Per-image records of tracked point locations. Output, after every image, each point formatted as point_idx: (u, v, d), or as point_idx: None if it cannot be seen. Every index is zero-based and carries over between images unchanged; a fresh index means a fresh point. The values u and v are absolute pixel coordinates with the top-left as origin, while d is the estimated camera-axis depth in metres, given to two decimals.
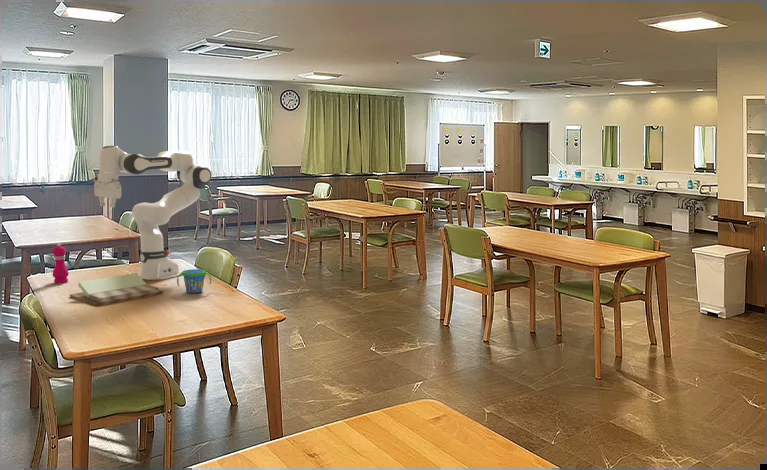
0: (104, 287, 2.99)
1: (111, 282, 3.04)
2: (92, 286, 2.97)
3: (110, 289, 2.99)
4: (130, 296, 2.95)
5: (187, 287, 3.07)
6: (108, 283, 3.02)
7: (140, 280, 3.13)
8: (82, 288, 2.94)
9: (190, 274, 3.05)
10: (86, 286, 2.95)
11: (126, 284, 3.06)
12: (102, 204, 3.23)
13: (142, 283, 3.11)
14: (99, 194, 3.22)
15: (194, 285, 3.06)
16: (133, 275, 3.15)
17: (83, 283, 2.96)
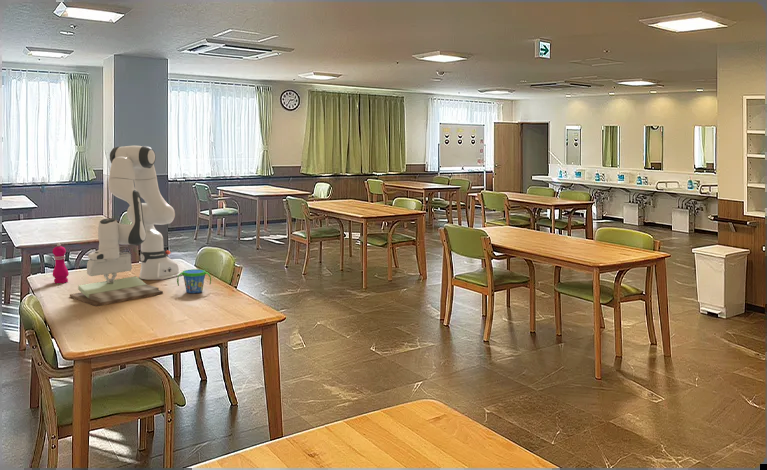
0: (103, 288, 2.99)
1: (110, 284, 3.04)
2: (92, 287, 2.97)
3: (110, 290, 2.99)
4: (130, 296, 2.95)
5: (187, 287, 3.07)
6: (107, 285, 3.03)
7: (140, 281, 3.13)
8: (82, 290, 2.95)
9: (190, 274, 3.05)
10: (86, 288, 2.95)
11: (126, 285, 3.07)
12: None
13: (142, 283, 3.11)
14: (101, 272, 3.00)
15: (194, 285, 3.06)
16: (133, 278, 3.15)
17: (83, 286, 2.97)
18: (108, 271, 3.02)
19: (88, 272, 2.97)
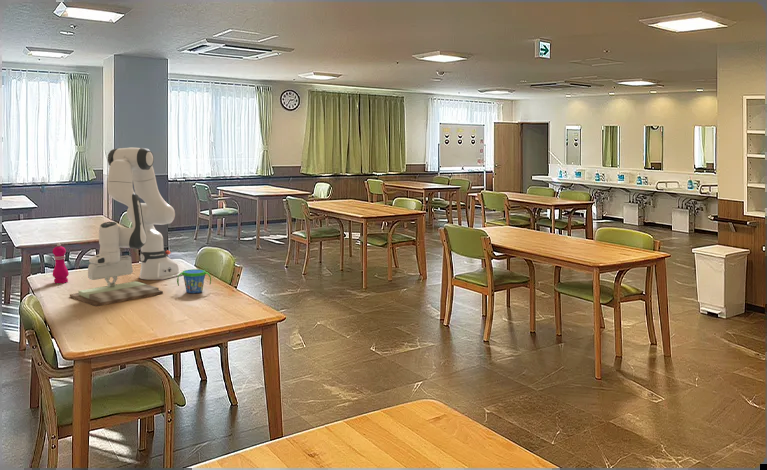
0: (103, 290, 2.99)
1: (110, 287, 3.04)
2: (92, 290, 2.97)
3: (110, 290, 2.99)
4: (130, 296, 2.95)
5: (187, 287, 3.07)
6: (107, 288, 3.03)
7: (140, 283, 3.13)
8: (82, 294, 2.95)
9: (190, 274, 3.05)
10: (86, 291, 2.96)
11: (126, 286, 3.07)
12: None
13: (142, 284, 3.11)
14: (103, 276, 3.00)
15: (194, 285, 3.06)
16: (132, 282, 3.15)
17: (83, 290, 2.97)
18: (109, 275, 3.02)
19: (89, 276, 2.97)
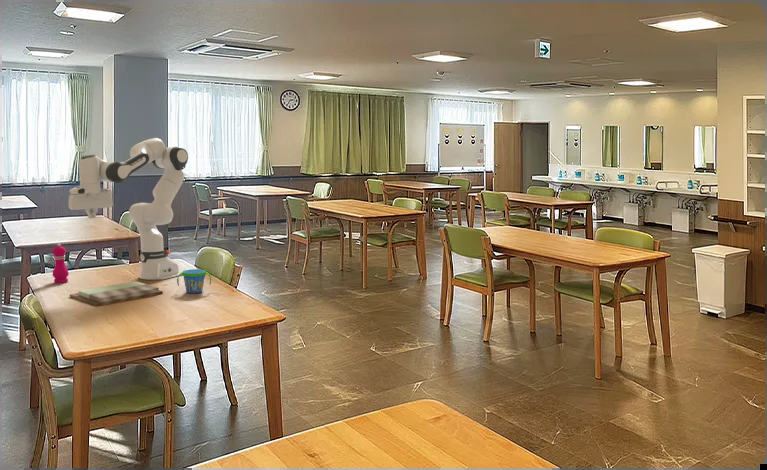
0: (103, 290, 2.99)
1: (110, 287, 3.04)
2: (92, 290, 2.97)
3: (110, 290, 2.99)
4: (130, 296, 2.95)
5: (187, 287, 3.07)
6: (107, 288, 3.03)
7: (140, 283, 3.13)
8: (82, 294, 2.95)
9: (190, 274, 3.05)
10: (86, 291, 2.96)
11: (126, 286, 3.07)
12: None
13: (142, 284, 3.11)
14: (83, 207, 3.08)
15: (194, 285, 3.06)
16: (132, 282, 3.15)
17: (83, 290, 2.97)
18: (89, 206, 3.10)
19: (70, 206, 3.05)
